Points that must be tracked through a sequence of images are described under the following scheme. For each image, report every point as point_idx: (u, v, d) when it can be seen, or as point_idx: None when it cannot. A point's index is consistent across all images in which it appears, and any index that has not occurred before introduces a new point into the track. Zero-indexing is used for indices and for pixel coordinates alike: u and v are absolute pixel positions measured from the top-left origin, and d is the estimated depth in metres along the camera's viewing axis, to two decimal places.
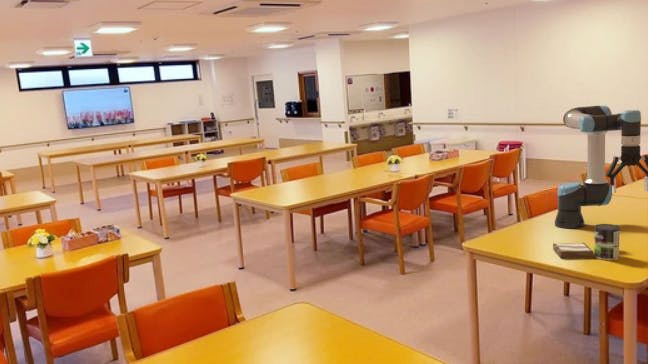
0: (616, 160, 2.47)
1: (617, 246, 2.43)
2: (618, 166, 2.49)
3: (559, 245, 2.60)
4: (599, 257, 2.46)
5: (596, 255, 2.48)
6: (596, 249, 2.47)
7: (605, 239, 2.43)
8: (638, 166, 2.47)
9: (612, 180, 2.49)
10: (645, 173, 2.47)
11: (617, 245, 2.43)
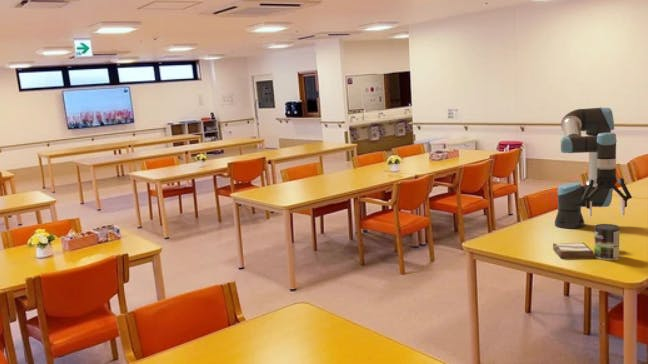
0: (592, 183, 2.43)
1: (617, 246, 2.43)
2: (594, 189, 2.45)
3: (559, 245, 2.60)
4: (599, 257, 2.46)
5: (596, 255, 2.48)
6: (596, 249, 2.47)
7: (605, 239, 2.43)
8: (614, 189, 2.44)
9: (588, 203, 2.45)
10: (621, 196, 2.43)
11: (617, 245, 2.43)
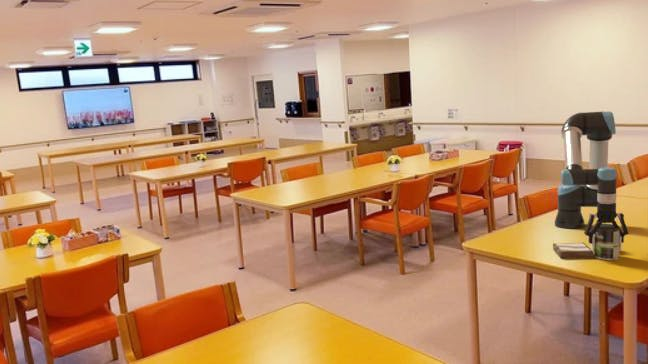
0: (592, 218, 2.45)
1: (617, 246, 2.43)
2: None
3: (559, 245, 2.60)
4: (599, 257, 2.46)
5: (596, 255, 2.48)
6: (596, 249, 2.47)
7: (605, 239, 2.43)
8: (613, 224, 2.46)
9: (591, 238, 2.48)
10: None
11: (617, 245, 2.43)
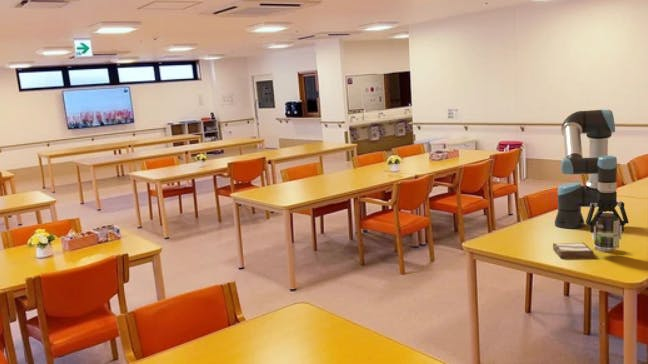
0: (593, 207, 2.45)
1: (617, 235, 2.43)
2: (596, 213, 2.47)
3: (559, 245, 2.60)
4: (599, 246, 2.46)
5: (596, 244, 2.48)
6: (596, 238, 2.47)
7: (605, 228, 2.42)
8: (613, 212, 2.45)
9: (592, 228, 2.47)
10: None
11: (617, 234, 2.43)
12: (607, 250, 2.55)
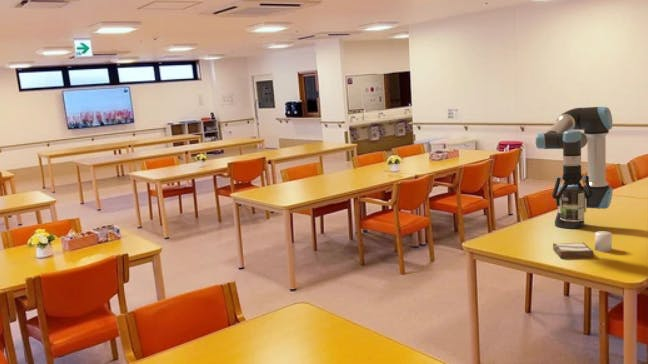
0: (558, 181, 2.51)
1: (582, 208, 2.49)
2: (562, 186, 2.53)
3: (559, 245, 2.60)
4: (564, 219, 2.51)
5: (562, 217, 2.53)
6: (562, 211, 2.53)
7: (570, 200, 2.48)
8: (578, 186, 2.51)
9: (558, 201, 2.53)
10: None
11: (582, 207, 2.49)
12: (607, 250, 2.55)
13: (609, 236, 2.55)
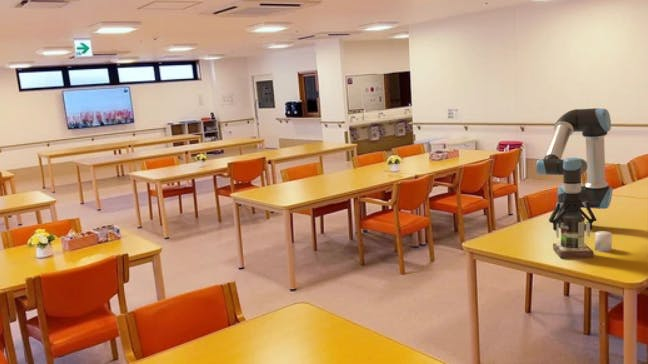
0: (558, 206, 2.53)
1: (582, 236, 2.51)
2: (561, 212, 2.55)
3: (559, 245, 2.60)
4: (565, 247, 2.54)
5: (562, 245, 2.55)
6: (562, 239, 2.55)
7: (570, 229, 2.50)
8: (580, 212, 2.53)
9: (555, 225, 2.55)
10: None
11: (582, 235, 2.51)
12: (607, 250, 2.55)
13: (609, 236, 2.55)
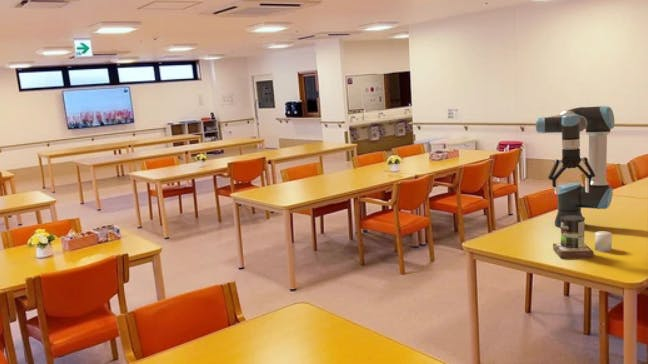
0: (557, 163, 2.54)
1: (582, 236, 2.51)
2: (560, 168, 2.56)
3: (559, 245, 2.60)
4: (565, 247, 2.54)
5: (562, 245, 2.55)
6: (562, 239, 2.55)
7: (570, 229, 2.50)
8: (579, 168, 2.55)
9: (554, 182, 2.56)
10: None
11: (582, 235, 2.51)
12: (607, 250, 2.55)
13: (609, 236, 2.55)
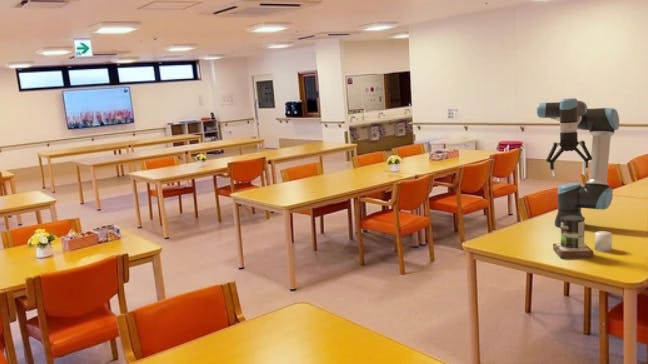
0: (555, 146, 2.61)
1: (582, 236, 2.51)
2: None
3: (559, 245, 2.60)
4: (565, 247, 2.54)
5: (562, 245, 2.55)
6: (562, 239, 2.55)
7: (570, 229, 2.50)
8: (576, 151, 2.61)
9: (552, 165, 2.63)
10: None
11: (582, 235, 2.51)
12: (607, 250, 2.55)
13: (609, 236, 2.55)
